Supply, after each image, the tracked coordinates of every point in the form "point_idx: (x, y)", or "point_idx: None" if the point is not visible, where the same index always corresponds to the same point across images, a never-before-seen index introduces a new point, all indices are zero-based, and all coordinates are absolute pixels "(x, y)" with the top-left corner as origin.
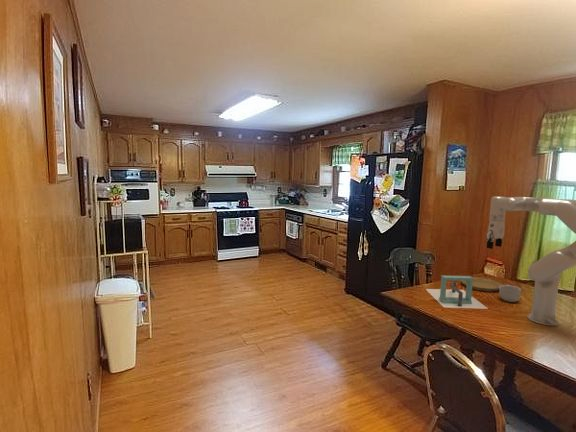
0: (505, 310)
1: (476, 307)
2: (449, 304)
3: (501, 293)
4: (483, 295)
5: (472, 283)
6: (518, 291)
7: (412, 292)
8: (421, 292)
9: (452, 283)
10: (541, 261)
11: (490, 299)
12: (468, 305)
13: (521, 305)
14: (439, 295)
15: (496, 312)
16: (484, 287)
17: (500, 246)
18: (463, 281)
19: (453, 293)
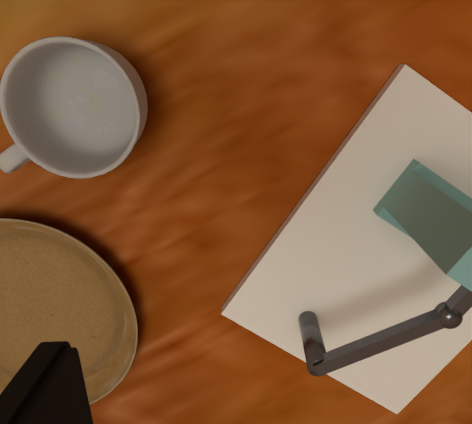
0: (292, 16)
1: (446, 113)
2: None
3: (141, 132)
4: (165, 223)
5: (467, 209)
6: (77, 38)
7: (467, 421)
8: (428, 401)
9: (414, 333)
10: None
11: (192, 166)
12: (452, 156)
13: (113, 11)
14: None
15: (374, 27)
16: (41, 289)
17: (74, 348)
18: None
19: (331, 307)
